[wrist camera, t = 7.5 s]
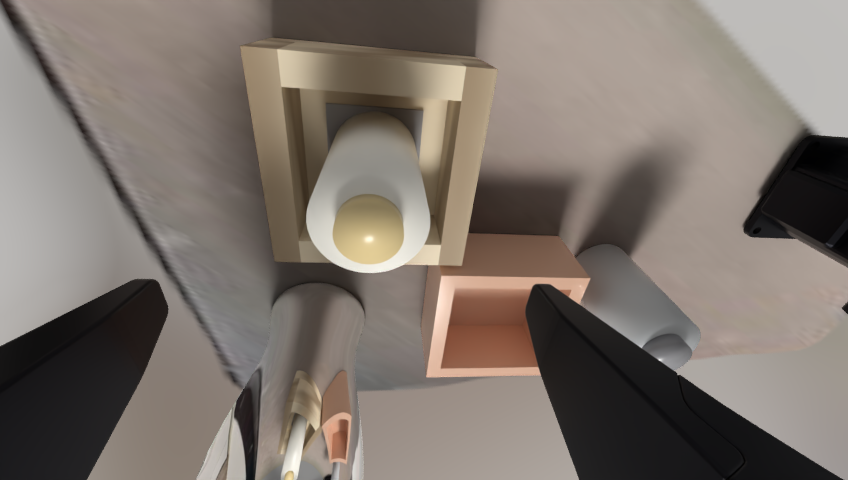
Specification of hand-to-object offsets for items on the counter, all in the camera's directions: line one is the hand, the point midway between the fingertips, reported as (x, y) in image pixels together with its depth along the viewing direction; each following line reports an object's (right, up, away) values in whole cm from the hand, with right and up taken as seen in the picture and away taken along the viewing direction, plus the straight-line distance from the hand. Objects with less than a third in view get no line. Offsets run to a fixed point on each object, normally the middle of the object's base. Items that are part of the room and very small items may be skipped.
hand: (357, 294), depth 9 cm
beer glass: (-6, -4, +16) cm, 17 cm away
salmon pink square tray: (+6, -2, +15) cm, 16 cm away
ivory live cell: (-1, +6, +9) cm, 10 cm away
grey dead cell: (+13, -1, +15) cm, 20 cm away
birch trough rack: (-1, +6, +10) cm, 11 cm away
